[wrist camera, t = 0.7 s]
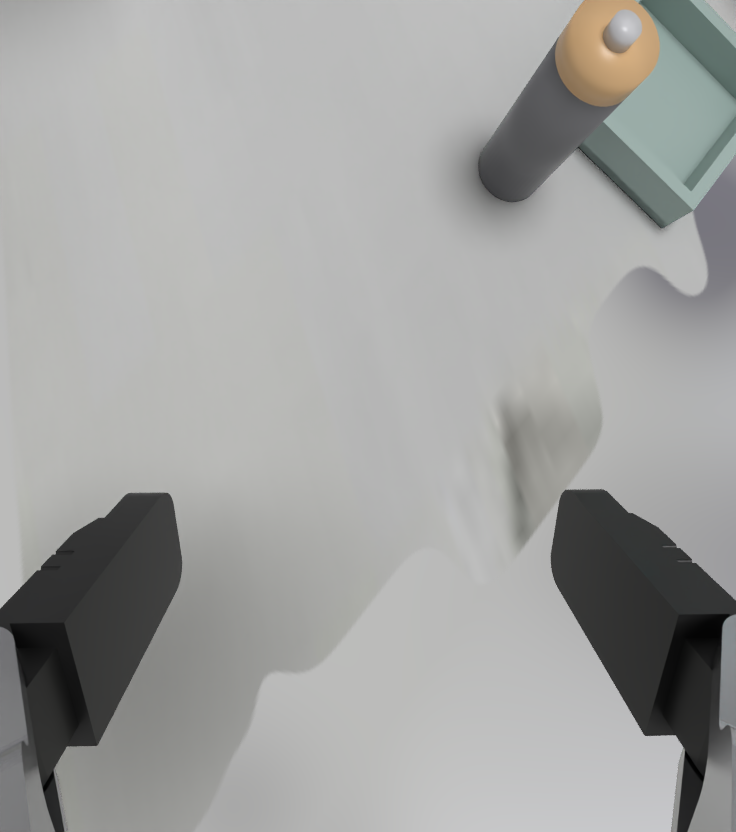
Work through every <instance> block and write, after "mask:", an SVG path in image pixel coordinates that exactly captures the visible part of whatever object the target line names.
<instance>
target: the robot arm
mask: <svg viewBox="0 0 736 832" xmlns="http://www.w3.org/2000/svg"><path fill="white" fill-rule="evenodd" d="M551 568H552V573H553V577H554V580H555V583H556V585H557V587H558V589H559V590H560V592H561V594H562V595H563V597H564V599H565V600H566V602H567V604H568V606H569V607H570V609H571V611H572V612H573V614H574V616H575V617H576V619H577V621H578V623H579V624H580V626H581V628H582V630H583V631H584V633H585V635H586V636H587V638H588V640H589V641H590V643H591V645H592V647H593V648H594V650H595V652H596V653H597V655H598V657H599V658H600V660H601V662H602V664H603V665H604V667H605V669H606V670H607V672H608V674H609V676H610V677H611V679H612V681H613V682H614V684H615V686H616V688H617V689H618V691H619V693H620V694H621V696H622V698H623V699H624V701H625V703H626V705H627V706H628V708H629V710H630V711H631V713H632V715H633V717H634V718H635V720H636V722H637V723H638V725H639V727H640V728H641V730H642V732H643V734H644V735H645V736H657V735H658V736H660V735H676V736H677V738H678V739H679V741H680V743H681V744H682V745H683V751H682V753H681V757H680V760H679V764H678V774H677V782H676V791H675V801H674V809H673V819H672V827H671V832H736V600H734V599H733V598H732V597H731V596H730V595H729V594H728V593H727V592H726V591H725V590H724V589H723V588H722V587H721V586H720V585H719V584H717V583H716V582H715V581H714V580H713V579H712V578H711V577H710V576H709V575H708V574H707V573H706V572H704V570H703V569H702V568H701V567H699V566H698V565H697V564H696V563H692V559H691V558H690V557H689V556H688V555H687V554H686V553H685V552H683V551H682V550H681V549H680V548H677V547H676V544H675V543H674V542H673V541H672V540H671V539H670V538H668V536H667V535H666V534H664V533H663V532H662V531H661V530H660V529H659V528H658V527H656V526H654V525H653V524H651V523H649V522H647V521H646V520H644V519H642V518H640V517H638V516H637V515H635V514H633V513H628V512H627V511H626V510H625V509H624V508H623V507H622V506H621V505H620V504H619V503H618V502H617V501H616V500H615V499H614V498H613V497H612V496H611V495H610V494H609V493H608V492H607V491H605V490H602V489H600V490H599V489H596V490H595V489H594V490H565V491H564V492H563V493H562V495H561V497H560V501H559V507H558V513H557V520H556V526H555V533H554V538H553V545H552V551H551ZM181 572H182V556H181V550H180V543H179V537H178V530H177V524H176V517H175V511H174V504H173V500H172V498H171V496H170V494H168V493H128V494H126V495H125V496H124V497H123V498H122V499H121V501H120V502H119V503H118V504H117V505H116V506H115V507H114V508H113V509H112V511H111V512H110V513H109V514H108V515H107V516H106V517H105V518H98V519H96V520H95V521H93V522H91V523H90V524H88V525H86V526H85V527H83V528H81V529H80V530H78V531H76V532H75V533H73V534H72V535H71V536H70V537H69V538H68V539H67V540H66V541H65V542H64V543H63V544H62V545H61V547H60V548H59V549H58V550H57V551H56V555H52V556H51V557H50V558H49V559H48V560H47V561H46V562H45V563H44V564H43V565H42V566H41V570H40V571H36V572H35V573H34V574H33V575H32V577H31V578H30V579H29V580H28V581H27V582H26V583H25V584H24V585H23V586H22V587H21V588H20V589H19V590H18V591H17V592H16V593H15V594H14V595H13V596H12V597H11V598H10V599H9V600H8V601H7V602H6V603H5V604H4V605H3V607H2V608H1V609H0V832H68V828H67V823H66V817H65V812H64V807H63V801H62V796H61V791H60V785H59V780H58V776H57V773H56V770H55V766H56V764H57V763H58V761H59V759H60V757H61V756H62V754H63V752H64V750H65V749H66V747H67V746H97V745H98V743H99V741H100V739H101V737H102V735H103V733H104V731H105V730H106V728H107V726H108V724H109V722H110V720H111V718H112V716H113V714H114V712H115V710H116V708H117V706H118V704H119V702H120V700H121V698H122V696H123V694H124V692H125V690H126V688H127V687H128V685H129V683H130V681H131V679H132V677H133V675H134V673H135V671H136V669H137V667H138V665H139V663H140V661H141V659H142V657H143V655H144V653H145V651H146V649H147V647H148V646H149V644H150V642H151V640H152V638H153V636H154V634H155V632H156V630H157V628H158V626H159V624H160V622H161V620H162V618H163V616H164V614H165V612H166V610H167V608H168V606H169V604H170V603H171V601H172V599H173V597H174V595H175V593H176V591H177V588H178V586H179V582H180V578H181Z"/></svg>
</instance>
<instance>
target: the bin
mask: <svg viewBox="0 0 736 832" xmlns="http://www.w3.org/2000/svg"><path fill="white" fill-rule="evenodd" d="M635 1H636V2H637V3H639V4H640V5H641V6H642V7H643V8H644V9H645V10H646V11H647V13H648V14H649V15H650V17H651V18H652V20H653V22H654V24H655V26H656V29H657V32H658V36H659V42H660V52H659V58H658V61H657V64H656V66H655V68H654V70H653V71H652V72H651V73H650V75H649V76H648V77H647V78H646V79H645V80H644V81H643V82H642V83H641V84H640V85H639V86H638V87H637V88H636V89H635V90H634V91H633V92H632V93H631V94H630V95H629V96H628V97H627V98H626V99H625V100H624V101H623V102H622V103H621V104H620V105H619V106H618V107H617V108H616V109H615V110H614V111H613V112H612V113H611V114H610V115H609V116H608V117H607V118H606V119H605V120H604V121H603V122H602V123H601V124H600V125H599V126H598V127H597V128H596V129H595V130H594V131H593V132H592V133H591V134H590V135H589V137H588V138H587V139H586V140H585V141H584V142H583V143H582V144H581V145H580V146H579V148H580V149H581V150H582V151H583V152H584V153H585V154H586V155H587V156H588V157H589V158H590V159H591V160H592V161H593V162H594V163H595V164H596V165H597V166H598V167H599V168H600V169H601V170H602V171H603V172H605V173H606V174H607V175H608V176H609V177H610V178H611V179H612V180H613V181H614V182H615V183H616V184H617V185H618V186H619V187H620V188H621V189H622V190H623V191H624V192H625V193H626V194H627V195H628V196H629V197H630V198H631V199H632V200H633V201H634V202H636V203H637V204H638V205H639V206H640V207H641V208H642V209H643V210H644V211H645V212H646V213H647V214H648V215H649V216H650V217H651V218H652V219H653V220H654V221H655V222H656V223H657V224H658V225H659V226H660V227H661V228H664V227H665V226H667V225H669V224H671V223H672V222H674V221H676V220H678V219H679V218H681V217H683V216H685V215H686V214H688V213H690V212H692V211H693V210H694V209H695V208H696V206H697V205H698V204H699V202H700V201H701V200H702V198H703V197H704V196H705V194H706V193H707V192H708V190H709V189H710V188H711V186H712V185H713V184H714V182H715V181H716V180H717V178H718V177H719V176H720V174H721V173H722V172H723V170H724V169H725V168H726V166H727V165H728V164H729V162H730V161H731V160H732V158H733V157H734V156H735V154H736V33H735V32H734V30H733V29H732V28H731V27H730V26H729V25H728V24H727V23H726V22H725V21H724V20H723V19H722V18H721V17H720V16H719V15H718V14H717V13H716V12H715V11H714V10H713V9H712V8H711V7H710V5H709V4H708V3H707V2H706V1H705V0H635Z"/></svg>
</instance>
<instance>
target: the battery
mask: <svg viewBox="0 0 736 832" xmlns="http://www.w3.org/2000/svg"><path fill="white" fill-rule="evenodd" d="M659 52H660V42H659V36H658V32H657V29H656V26H655V24H654V22H653V20H652V18H651V17H650V15H649V14H648V13H647V11H646V10H645V9H644V8H643V7H642V6H641V5H640V4H639V3H637V2H636V1H635V0H585V1H584V2H583V3H582V4H581V5H580V6H579V8H578V9H577V11H576V12H575V14H574V15H573V17H572V18H571V20H570V21H569V23H568V24H567V26H566V27H565V29H564V30H563V32H562V33H561V35H560V36H559V38H558V39H557V41H556V42H555V43H554V45H553V46H552V48H551V49H550V51H549V52H548V54H547V55H546V57H545V58H544V60H543V61H542V63H541V64H540V66H539V67H538V69H537V70H536V72H535V73H534V75H533V76H532V78H531V79H530V81H529V82H528V84H527V85H526V87H525V88H524V90H523V91H522V93H521V94H520V96H519V97H518V99H517V100H516V102H515V103H514V104H513V106H512V107H511V109H510V110H509V112H508V113H507V115H506V116H505V118H504V119H503V121H502V122H501V124H500V125H499V127H498V128H497V130H496V131H495V133H494V134H493V136H492V137H491V139H490V140H489V142H488V143H487V145H486V146H485V148H484V149H483V151H482V153H481V155H480V158H479V174H480V177H481V180H482V182H483V184H484V185H485V187H486V188H487V189H488V191H489V192H490V193H492V194H493V195H494V196H496V197H497V198H499V199H502V200H505V201H510V202H516V201H521V200H524V199H526V198H527V197H529V196H530V195H531V194H532V193H533V192H534V191H535V190H536V189H537V188H538V187H539V186H540V185H541V184H542V183H543V182H544V181H545V180H546V179H547V178H548V177H549V176H550V175H551V174H552V173H553V172H554V171H555V170H556V169H557V168H558V167H559V166H560V165H561V164H562V163H563V162H564V161H565V160H566V159H567V158H568V157H569V156H570V155H571V154H572V153H573V152H574V151H575V150H576V149H577V148H578V147H579V146H580V145H581V144H582V143H583V142H584V141H585V140H586V139H587V138H588V137H589V135H590V134H591V133H592V132H593V131H594V130H595V129H596V128H597V127H598V126H599V125H600V124H601V123H602V122H603V121H604V120H605V119H606V118H607V117H608V116H609V115H610V114H611V113H612V112H613V111H614V110H615V109H616V108H617V107H618V106H619V105H620V104H621V103H622V102H623V101H624V100H625V99H626V98H627V97H628V96H629V95H630V94H631V93H632V92H633V91H634V90H635V89H636V88H637V87H638V86H639V85H640V84H641V83H642V82H643V81H644V80H645V79H646V78H647V77H648V76H649V75H650V73H651V72H652V71H653V70H654V68H655V66H656V64H657V61H658V58H659Z"/></svg>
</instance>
